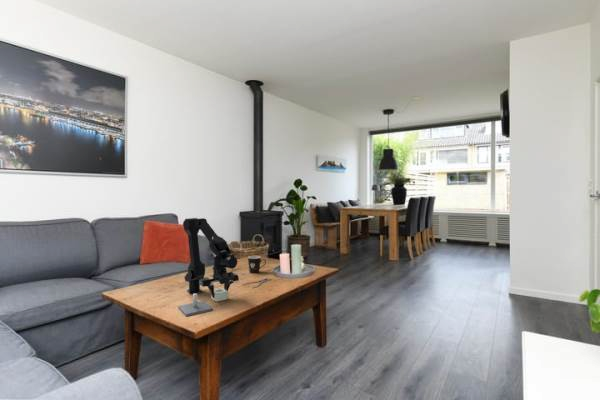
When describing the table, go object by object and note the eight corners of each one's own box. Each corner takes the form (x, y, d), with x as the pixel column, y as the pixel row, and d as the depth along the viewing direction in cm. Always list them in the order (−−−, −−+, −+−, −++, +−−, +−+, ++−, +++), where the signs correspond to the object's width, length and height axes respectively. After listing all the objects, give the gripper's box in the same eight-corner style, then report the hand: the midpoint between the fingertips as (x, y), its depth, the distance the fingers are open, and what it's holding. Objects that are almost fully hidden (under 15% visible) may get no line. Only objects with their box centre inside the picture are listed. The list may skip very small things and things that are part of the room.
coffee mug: (245, 272, 211) (245, 257, 211) (254, 269, 218) (254, 255, 218) (258, 275, 204) (258, 259, 204) (266, 272, 211) (266, 257, 211)
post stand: (178, 308, 147) (177, 293, 146) (203, 302, 154) (203, 288, 153) (185, 316, 137) (185, 300, 137) (212, 310, 144) (212, 295, 144)
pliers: (239, 285, 180) (258, 276, 199) (239, 287, 180) (258, 278, 199) (254, 287, 177) (271, 278, 195) (254, 289, 177) (271, 280, 195)
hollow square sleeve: (211, 298, 159) (211, 290, 159) (222, 295, 163) (222, 288, 162) (215, 301, 154) (215, 293, 154) (227, 299, 158) (227, 291, 158)
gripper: (206, 271, 146) (206, 305, 146) (243, 266, 157) (243, 297, 157) (198, 266, 155) (198, 298, 155) (234, 262, 166) (234, 291, 166)
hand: (219, 296), depth 158 cm, fingers closed on hollow square sleeve, 6 cm apart
